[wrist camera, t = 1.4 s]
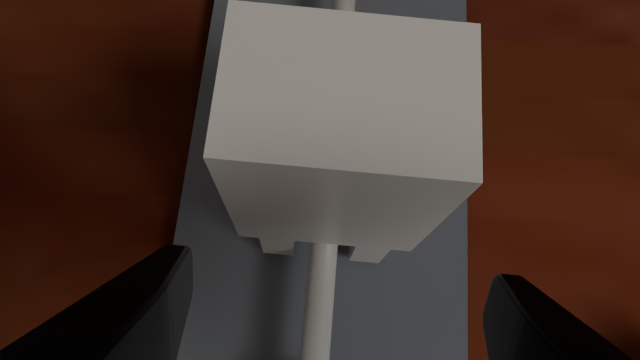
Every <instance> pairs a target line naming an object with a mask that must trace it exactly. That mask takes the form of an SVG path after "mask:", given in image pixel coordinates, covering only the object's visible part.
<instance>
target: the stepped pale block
mask: <svg viewBox="0 0 640 360" xmlns="http://www.w3.org/2000/svg"><path fill="white" fill-rule="evenodd" d="M203 159H204V161H205V163H206V165H207V167H208V170H209V172H210V174H211V176H212V178H213V181H214V183H215V185H216V187H217V189H218V192H219V194H220V196H221V198H222V200H223V203H224V205H225V207H226V209H227V211H228V214H229V216H230V218H231V220H232V222H233V225H234V227H235V229H236V231H237V233H238V236H244V237H255V238H259V240H260V243H261V247H262V250H263V253H270V254H281V255H292V256H294V246H295V241H300V242H311V243H322V244H333V245H344V246H350V250H349V261H359V262H371V263H380V261H381V260H382V259H383V258H384V257H385V256H386V254H387V253H388V252H389V251H390V250H400V251H412V250H413V249H414V248H415V247H416V246H417V245H418V244H419V243H420V242H421V241H422V240H423V239H424V238H425V237H426V236H427V235H428V234H430V233H431V232H432V231H433V230H434V229H435V228H436V227H437V226H438V225H439V224H440V223H441V222H442V221H443V220H444V219H445V218H447V217H448V216H449V215H450V214H451V213H452V212H453V211H454V210H455V209H456V208H457V207H458V206H459V205H460V204H461V203H462V202H463V201H465V200H466V199H467V198H468V197H469V196H470V195H471V194H472V193H473V192H474V191H475V190H476V189H477V188H478V187H479V186H480V185H481V184H483V161H482V90H481V24H478V23H467V22H457V21H446V20H436V19H426V18H415V17H405V16H394V15H384V14H374V13H363V12H353V11H342V10H332V9H322V8H311V7H301V6H290V5H280V4H270V3H259V2H249V1H238V0H228V5H227V11H226V18H225V24H224V30H223V36H222V42H221V49H220V55H219V61H218V67H217V74H216V80H215V86H214V92H213V98H212V105H211V111H210V117H209V123H208V130H207V136H206V142H205V148H204V154H203Z"/></svg>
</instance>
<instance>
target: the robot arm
mask: <svg viewBox="0 0 640 360" xmlns="http://www.w3.org/2000/svg"><path fill="white" fill-rule="evenodd" d="M192 294H193V255H192V250H191V248H190V247H189V246H183V245H172V244H168V245H165V246H163V247H162V248H160V249H158V250H157V251H155V252H154V253H152V254H151V255H149V256H147V257H146V258H144V259H143V260H141V261H140V262H138V263H136V264H135V265H133V266H132V267H130V268H129V269H127V270H125V271H124V272H122V273H121V274H119V275H118V276H116V277H114V278H113V279H111V280H110V281H108V282H107V283H105V284H104V285H102V286H100V287H99V288H97V289H96V290H94V291H93V292H91V293H89V294H88V295H86V296H85V297H83V298H82V299H80V300H78V301H77V302H75V303H74V304H72V305H71V306H69V307H67V308H66V309H64V310H63V311H61V312H60V313H58V314H56V315H55V316H53V317H52V318H50V319H49V320H47V321H45V322H44V323H42V324H41V325H39V326H38V327H36V328H35V329H33V330H31V331H30V332H28V333H27V334H25V335H24V336H22V337H20V338H19V339H17V340H16V341H14V342H13V343H11V344H9V345H8V346H6V347H5V348H3V349H2V350H0V360H177V356H178V352H179V348H180V344H181V340H182V336H183V332H184V328H185V324H186V320H187V316H188V312H189V308H190V304H191V299H192ZM483 328H484V334H485V340H486V346H487V352H488V358H489V360H633V359H632V358H630V357H629V356H628V355H626V354H625V353H624V352H622V351H621V350H620V349H618V348H617V347H616V346H614V345H613V344H612V343H610V342H609V341H608V340H606V339H605V338H604V337H602V336H601V335H600V334H598V333H597V332H596V331H594V330H593V329H592V328H590V327H589V326H588V325H586V324H585V323H583V322H582V321H581V320H579V319H578V318H577V317H575V316H574V315H573V314H571V313H570V312H569V311H567V310H566V309H565V308H563V307H562V306H561V305H559V304H558V303H557V302H555V301H554V300H553V299H551V298H550V297H549V296H547V295H546V294H545V293H543V292H542V291H541V290H539V289H538V288H537V287H535V286H534V285H532V284H531V283H530V282H528V281H527V280H526V279H524V278H523V277H521V276H519V275H510V274H497V275H496V276H495V277H494V278H493V280H492V283H491V287H490V290H489V294H488V297H487V301H486V304H485V308H484V312H483Z"/></svg>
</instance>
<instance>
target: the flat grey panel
mask: <svg viewBox="0 0 640 360" xmlns="http://www.w3.org/2000/svg"><path fill="white" fill-rule="evenodd" d="M238 1H249V2H259V3H270V4H280V5H290V6H301V7H311V8H322V9H332V10H342V11H353V12H363V13H374V14H384V15H394V16H405V17H415V18H426V19H436V20H446V21H457V22H466V0H238ZM227 5H228V0H215V1H214V7H213V13H212V19H211V24H210V30H209V36H208V42H207V48H206V54H205V60H204V66H203V71H202V77H201V83H200V89H199V95H198V101H197V107H196V113H195V118H194V124H193V130H192V136H191V142H190V148H189V154H188V160H187V166H186V171H185V177H184V183H183V189H182V195H181V201H180V207H179V213H178V218H177V224H176V230H175V236H174V242H173V245H183V246H189V247H190V248H191V250H192V255H193V294H192V299H191V304H190V308H189V312H188V316H187V320H186V324H185V328H184V332H183V336H182V340H181V344H180V348H179V352H178V356H177V360H468V281H467V199H466V200H465V201H463V202H462V203H461V204H460V205H459V206H458V207H457V208H456V209H455V210H454V211H453V212H452V213H451V214H450V215H449V216H448V217H447V218H445V219H444V220H443V221H442V222H441V223H440V224H439V225H438V226H437V227H436V228H435V229H434V230H433V231H432V232H431V233H430V234H428V235H427V236H426V237H425V238H424V239H423V240H422V241H421V242H420V243H419V244H418V245H417V246H416V247H415V248H414V249H413V250H412V251H400V250H390V251H389V252H388V253H387V254H386V256H385V257H384V258H383V259H382V260H381V261H380V263H371V262H359V261H349V250H350V246H344V245H333V244H322V243H311V242H300V241H295V246H294V256H292V255H281V254H270V253H263V250H262V247H261V243H260V240H259V238H255V237H244V236H238V233H237V231H236V229H235V227H234V225H233V222H232V220H231V218H230V216H229V214H228V211H227V209H226V207H225V205H224V203H223V200H222V198H221V196H220V194H219V192H218V189H217V187H216V185H215V183H214V181H213V178H212V176H211V174H210V172H209V170H208V167H207V165H206V163H205V161H204V159H203V154H204V148H205V142H206V136H207V130H208V123H209V117H210V111H211V105H212V98H213V92H214V86H215V80H216V74H217V67H218V61H219V55H220V49H221V42H222V36H223V30H224V24H225V18H226V11H227Z"/></svg>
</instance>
